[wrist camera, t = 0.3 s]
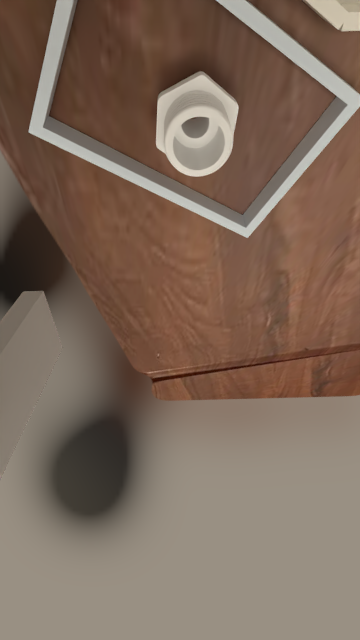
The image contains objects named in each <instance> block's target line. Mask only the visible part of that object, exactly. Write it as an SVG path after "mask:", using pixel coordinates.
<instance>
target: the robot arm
mask: <svg viewBox="0 0 360 640" xmlns="http://www.w3.org/2000/svg"><path fill="white" fill-rule="evenodd" d="M62 348H63V346H62V344H61V341H60V338H59V335H58V332H57V329H56V326H55V324H54V320H53V318H52V315H51V312H50V309H49V306H48V303H47V300H46V298H45V295H44V292H43V291H29V292H23V293H22V294H21V295H20V297H19V298H18V299H17V301H16V302H15V303H14V305H13V306H12V307H11V308H10V310H9V311H8V312H7V314H6V315H5V316H4V318H3V319H2V320H1V322H0V479H1V477H2V475H3V473H4V471H5V469H6V466H7V464H8V462H9V460H10V458H11V456H12V454H13V451H14V449H15V447H16V445H17V443H18V441H19V439H20V437H21V434H22V433H23V430H24V428H25V426H26V424H27V422H28V420H29V418H30V415H31V414H32V412H33V409H34V407H35V405H36V403H37V401H38V399H39V397H40V395H41V393H42V390H43V388H44V386H45V384H46V382H47V380H48V378H49V376H50V373H51V371H52V369H53V367H54V365H55V363H56V361H57V359H58V357H59V355H60V352H61V350H62Z"/></svg>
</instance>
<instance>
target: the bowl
mask: <svg viewBox="0 0 360 640" xmlns="http://www.w3.org/2000/svg"><path fill="white" fill-rule="evenodd" d="M302 1H303V2H305V3H306V4H307V5H308V6H309V7H310V8H311V9H312V10H313V11H315V12H316V13H317V14H318V15H319V16H320V17H321V18H322V19H324V20H325V21H326V22H328V23H329V24H331V25H332V26H333V27H335V28H336V29H338V30H341V31H360V0H302Z"/></svg>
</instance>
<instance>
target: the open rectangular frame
mask: <svg viewBox="0 0 360 640" xmlns="http://www.w3.org/2000/svg"><path fill="white" fill-rule="evenodd" d="M77 1H78V0H57V2H56V6H55V11H54V16H53V20H52V25H51V30H50V34H49V39H48V44H47V48H46V53H45V58H44V62H43V67H42V71H41V76H40V81H39V85H38V90H37V95H36V99H35V104H34V109H33V113H32V118H31V123H30V127H29V133H31V134H33V135H35V136H37V137H39V138H41V139H43V140H45V141H47V142H50V143H52V144H54V145H56V146H58V147H60V148H62V149H64V150H66V151H68V152H70V153H72V154H74V155H77V156H79V157H81V158H83V159H85V160H87V161H89V162H91V163H93V164H95V165H97V166H99V167H101V168H103V169H106V170H108V171H110V172H112V173H114V174H116V175H118V176H120V177H122V178H124V179H126V180H128V181H130V182H133V183H135V184H137V185H139V186H141V187H143V188H145V189H147V190H149V191H151V192H153V193H155V194H157V195H160V196H162V197H164V198H166V199H168V200H170V201H172V202H174V203H176V204H178V205H180V206H182V207H184V208H187V209H189V210H191V211H193V212H195V213H197V214H199V215H201V216H203V217H205V218H207V219H209V220H211V221H213V222H216V223H218V224H220V225H222V226H224V227H226V228H228V229H230V230H232V231H234V232H236V233H238V234H240V235H243V236H245V237H247V238H248V237H249V236H250V234H251V233H252V232H253V231H254V230H255V229H256V227H257V226H258V225H259V224H260V223H261V222H262V220H263V219H264V218H265V217H266V216H267V215H268V213H269V212H270V211H271V210H272V209H273V208H274V206H275V205H276V204H277V203H278V202H279V201H280V199H281V198H282V197H283V196H284V195H285V193H286V192H287V191H288V190H289V189H290V188H291V186H292V185H293V184H294V183H295V182H296V181H297V179H298V178H299V177H300V176H301V175H302V174H303V172H304V171H305V170H306V169H307V168H308V167H309V165H310V164H311V163H312V162H313V161H314V159H315V158H316V157H317V156H318V155H319V154H320V152H321V151H322V150H323V149H324V148H325V147H326V145H327V144H328V143H329V142H330V141H331V140H332V138H333V137H334V136H335V135H336V134H337V133H338V131H339V130H340V129H341V128H342V127H343V125H344V124H345V123H346V122H347V121H348V120H349V118H350V117H351V116H352V115H353V114H354V113H355V111H356V110H357V109H358V108H359V107H360V94H359V93H358V92H357V91H356V90H355V89H354V88H353V87H352V86H350V85H349V84H348V83H347V82H346V81H344V80H343V79H342V78H341V77H340V76H338V75H337V74H336V73H335V72H334V71H332V70H331V69H330V68H329V67H327V66H326V65H325V64H324V63H323V62H321V61H320V60H319V59H318V58H317V57H315V56H314V55H313V54H312V53H311V52H309V51H308V50H307V49H306V48H305V47H303V46H302V45H301V44H300V43H298V42H297V41H296V40H295V39H294V38H292V37H291V36H290V35H289V34H288V33H286V32H285V31H284V30H283V29H282V28H280V27H279V26H278V25H277V24H276V23H274V22H273V21H272V20H271V19H270V18H268V17H267V16H266V15H265V14H263V13H262V12H261V11H260V10H259V9H257V8H256V7H255V6H254V5H253V4H251V3H250V2H249V1H248V0H216V1H217V2H219V3H220V4H221V5H222V6H224V7H225V8H226V9H227V10H229V11H230V12H231V13H233V14H234V15H235V16H236V17H238V18H239V19H240V20H241V21H243V22H244V23H245V24H246V25H248V26H249V27H250V28H251V29H253V30H254V31H255V32H257V33H258V34H259V35H260V36H262V37H263V38H264V39H265V40H267V41H268V42H269V43H270V44H272V45H273V46H274V47H275V48H277V49H278V50H279V51H281V52H282V53H283V54H284V55H286V56H287V57H288V58H289V59H291V60H292V61H293V62H294V63H296V64H297V65H298V66H299V67H301V68H302V69H303V70H305V71H306V72H307V73H308V74H310V75H311V76H312V77H313V78H315V79H316V80H317V81H318V82H320V83H321V84H322V85H324V86H325V87H326V88H327V89H329V90H330V91H331V92H332V93H334V94H335V95H336V96H337V97H336V98H335V99H334V100H333V102H332V103H331V104H330V105H329V107H328V108H327V109H326V110H325V112H324V113H323V114H322V115H321V117H320V118H319V119H318V120H317V122H316V123H315V124H314V126H313V127H312V128H311V129H310V131H309V132H308V133H307V134H306V136H305V137H304V138H303V139H302V141H301V142H300V143H299V144H298V146H297V147H296V148H295V150H294V151H293V152H292V153H291V155H290V156H289V157H288V158H287V160H286V161H285V162H284V163H283V165H282V166H281V167H280V168H279V170H278V171H277V172H276V174H275V175H274V176H273V177H272V179H271V180H270V181H269V182H268V184H267V185H266V186H265V187H264V189H263V190H262V191H261V192H260V194H259V195H258V196H257V197H256V199H255V200H254V201H253V203H252V204H251V205H250V206H249V208H248V209H247V210H246V211H245V213H244V214H243V215H242V214H240V213H238V212H236V211H234V210H232V209H230V208H228V207H226V206H224V205H222V204H220V203H218V202H216V201H214V200H212V199H210V198H208V197H206V196H204V195H202V194H200V193H199V192H197V191H195V190H193V189H191V188H189V187H187V186H185V185H183V184H181V183H179V182H177V181H175V180H173V179H171V178H169V177H167V176H165V175H163V174H161V173H159V172H157V171H156V170H154V169H152V168H150V167H148V166H146V165H144V164H142V163H140V162H138V161H136V160H134V159H132V158H130V157H128V156H126V155H124V154H122V153H120V152H118V151H116V150H114V149H113V148H111V147H109V146H107V145H105V144H103V143H101V142H99V141H97V140H95V139H93V138H91V137H89V136H87V135H85V134H83V133H81V132H79V131H77V130H75V129H73V128H71V127H69V126H68V125H66V124H64V123H62V122H60V121H58V120H56V119H54V118H52V117H50V116H49V113H50V109H51V105H52V101H53V97H54V93H55V89H56V85H57V81H58V77H59V73H60V69H61V65H62V61H63V57H64V53H65V49H66V45H67V41H68V37H69V33H70V29H71V25H72V21H73V17H74V13H75V9H76V5H77Z"/></svg>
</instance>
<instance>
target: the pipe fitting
mask: <svg viewBox="0 0 360 640" xmlns="http://www.w3.org/2000/svg"><path fill="white" fill-rule="evenodd" d="M238 108H239V107H238V104H237V102H236V100H235V99H234V98H233V97H232V96H231V95H230V94H229V93H227V92H226V91H225V90H224V89H223V88H222V87H220V86H219V85H218V84H217V83H216V82H215V81H214V80H212V79H211V78H210V77H209V76H208V75H207V74H206V73H204V72H203V71H199V72H197V73H195V74H193V75H191V76H190V77H188V78H186V79H184V80H182V81H180V82H179V83H177V84H175V85H173V86H171V87H169V88H168V89H166V90H164V91H162V92H161V93H159V95H158V103H157V128H156V146H157V148H158V149H159V150H161V151H162V152H164V153H165V154H166V155H167V158H168V159H169V161H170V163H171V164H172V165H173V166H174V167H175V168H176V169H177V170H178V171H180V172H181V173H183V174H186V175H189V176H205V175H208V174H211V173H213V172H215V171H216V170H218V169H219V168H220V167H222V165H223V164H224V163H225V162H226V161H227V159H228V157H229V156H230V153H231V150H232V147H233V134H234V129H235V124H236V119H237V114H238ZM194 117H198V118H195V119H191V118H194Z"/></svg>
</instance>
